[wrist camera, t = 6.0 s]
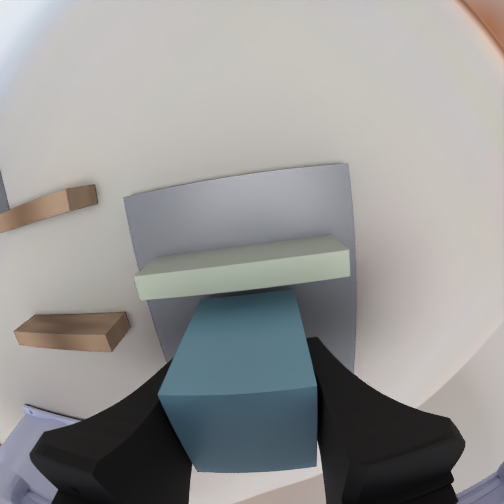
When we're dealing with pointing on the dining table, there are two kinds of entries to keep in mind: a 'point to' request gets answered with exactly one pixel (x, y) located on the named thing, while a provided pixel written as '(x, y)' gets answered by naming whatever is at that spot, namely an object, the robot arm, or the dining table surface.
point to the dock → (250, 249)
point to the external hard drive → (3, 198)
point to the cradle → (69, 325)
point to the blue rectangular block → (244, 386)
